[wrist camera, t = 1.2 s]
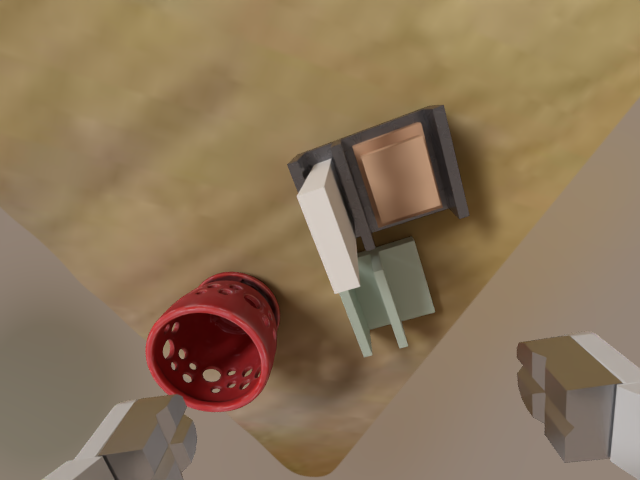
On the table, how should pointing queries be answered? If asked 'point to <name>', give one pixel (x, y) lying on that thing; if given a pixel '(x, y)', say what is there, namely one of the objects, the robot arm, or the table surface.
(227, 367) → the plant pot
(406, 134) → the offcut lower
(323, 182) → the tall sheet
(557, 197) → the table surface
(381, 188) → the offcut upper
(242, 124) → the table surface
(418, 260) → the sheet stand
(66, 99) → the table surface
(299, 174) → the offcut rack
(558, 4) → the table surface
